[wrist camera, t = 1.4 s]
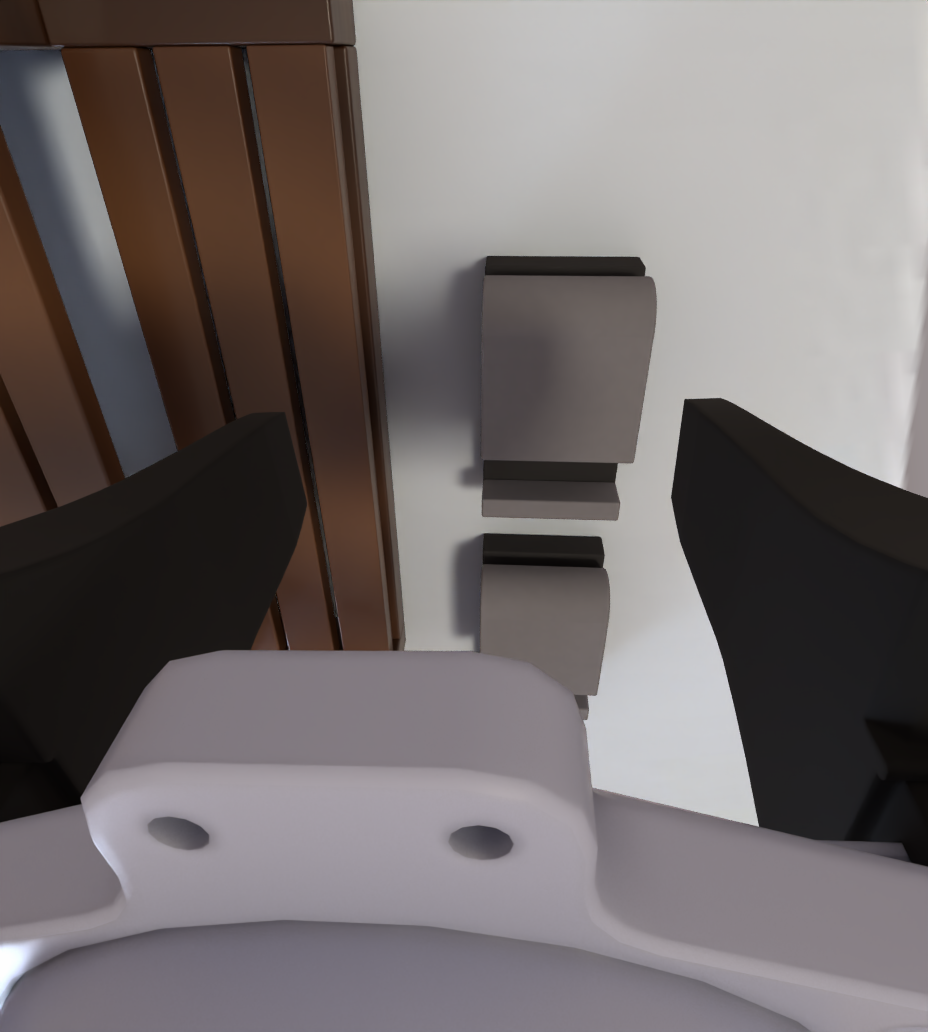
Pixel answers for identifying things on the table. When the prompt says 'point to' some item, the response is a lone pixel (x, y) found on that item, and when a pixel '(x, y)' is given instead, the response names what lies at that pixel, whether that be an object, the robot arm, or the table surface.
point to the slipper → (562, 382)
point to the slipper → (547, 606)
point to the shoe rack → (217, 277)
